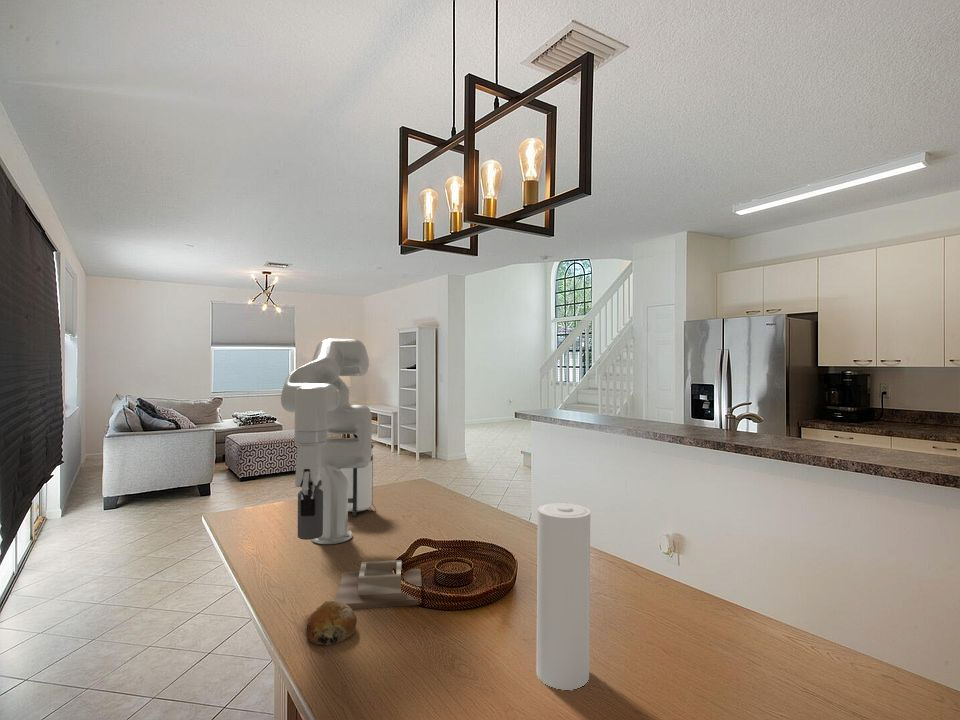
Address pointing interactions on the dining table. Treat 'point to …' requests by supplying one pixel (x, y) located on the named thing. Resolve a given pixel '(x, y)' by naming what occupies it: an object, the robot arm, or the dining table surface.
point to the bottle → (311, 524)
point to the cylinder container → (563, 595)
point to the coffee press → (360, 486)
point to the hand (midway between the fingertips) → (310, 510)
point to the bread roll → (331, 623)
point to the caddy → (377, 585)
